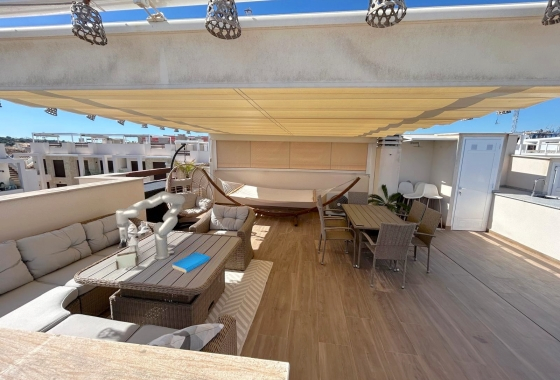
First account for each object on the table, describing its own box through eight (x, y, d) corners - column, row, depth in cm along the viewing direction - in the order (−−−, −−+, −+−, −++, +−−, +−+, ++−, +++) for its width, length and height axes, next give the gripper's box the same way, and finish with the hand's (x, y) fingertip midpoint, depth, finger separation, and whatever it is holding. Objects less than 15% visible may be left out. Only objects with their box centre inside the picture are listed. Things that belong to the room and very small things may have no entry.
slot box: (137, 258, 197) (136, 250, 196) (137, 265, 185) (136, 257, 184) (118, 262, 190) (117, 254, 189) (116, 269, 178) (115, 261, 177)
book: (171, 264, 182) (195, 251, 204) (172, 268, 183) (195, 256, 205) (186, 269, 175) (209, 255, 197) (186, 274, 175) (209, 260, 197)
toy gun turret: (144, 250, 212) (142, 232, 209) (140, 257, 200) (139, 238, 196) (129, 252, 208) (127, 234, 205) (125, 258, 196) (123, 239, 192)
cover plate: (136, 264, 187) (135, 253, 186) (136, 265, 186) (135, 254, 184) (117, 268, 181) (116, 256, 179) (117, 269, 179) (116, 257, 177)
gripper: (127, 227, 171) (129, 248, 174) (128, 220, 186) (130, 240, 189) (115, 228, 168) (117, 250, 170) (117, 222, 182) (119, 242, 185)
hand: (124, 244), depth 180 cm, fingers open, 9 cm apart
